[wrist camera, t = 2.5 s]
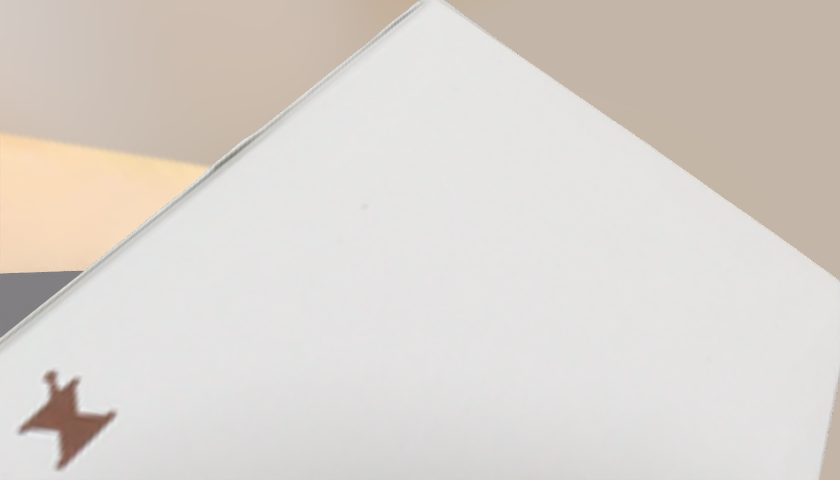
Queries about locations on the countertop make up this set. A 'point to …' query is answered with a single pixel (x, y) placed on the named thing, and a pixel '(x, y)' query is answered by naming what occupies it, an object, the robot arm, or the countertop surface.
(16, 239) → the countertop surface
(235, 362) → the supplement box
